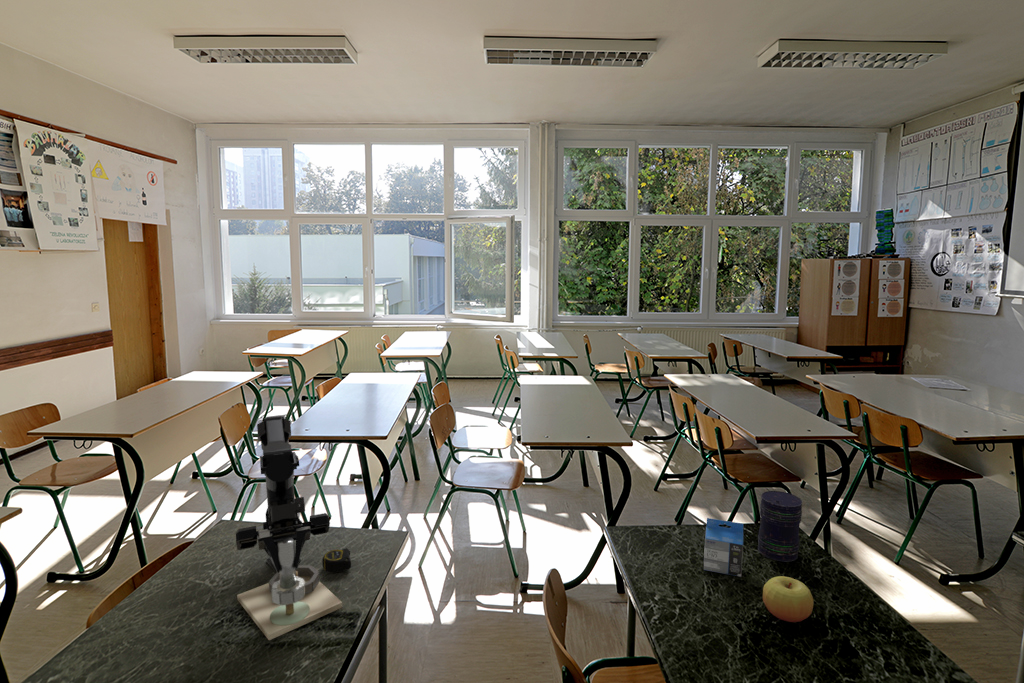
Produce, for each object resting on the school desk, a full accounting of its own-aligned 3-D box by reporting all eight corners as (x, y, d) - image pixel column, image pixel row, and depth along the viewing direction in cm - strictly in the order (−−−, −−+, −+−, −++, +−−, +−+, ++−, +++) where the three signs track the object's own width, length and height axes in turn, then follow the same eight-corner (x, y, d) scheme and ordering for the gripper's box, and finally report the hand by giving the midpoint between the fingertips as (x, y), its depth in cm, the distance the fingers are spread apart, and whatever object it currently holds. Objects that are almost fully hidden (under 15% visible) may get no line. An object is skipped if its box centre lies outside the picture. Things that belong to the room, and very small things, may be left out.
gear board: (237, 599, 128) (236, 581, 127) (306, 572, 139) (305, 555, 138) (268, 640, 114) (267, 620, 113) (342, 607, 125) (341, 588, 124)
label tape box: (703, 570, 140) (705, 524, 138) (704, 562, 144) (706, 517, 142) (741, 578, 136) (744, 530, 135) (741, 569, 140) (744, 523, 138)
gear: (266, 599, 119) (262, 544, 117) (291, 584, 125) (288, 531, 123) (286, 608, 116) (282, 552, 114) (311, 592, 121) (308, 538, 120)
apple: (791, 634, 116) (794, 599, 115) (751, 609, 124) (754, 575, 123) (821, 620, 120) (824, 586, 119) (781, 596, 129) (783, 564, 128)
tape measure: (351, 573, 139) (351, 559, 138) (322, 578, 137) (321, 563, 136) (350, 559, 145) (350, 546, 145) (322, 563, 143) (322, 550, 143)
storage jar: (765, 538, 156) (769, 487, 153) (803, 551, 149) (808, 498, 147) (751, 552, 148) (755, 498, 146) (790, 566, 142) (795, 510, 140)
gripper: (232, 493, 116) (236, 569, 108) (326, 478, 124) (336, 548, 116) (235, 513, 125) (239, 585, 116) (323, 498, 133) (332, 565, 124)
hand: (287, 570), depth 118 cm, fingers closed on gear, 3 cm apart
